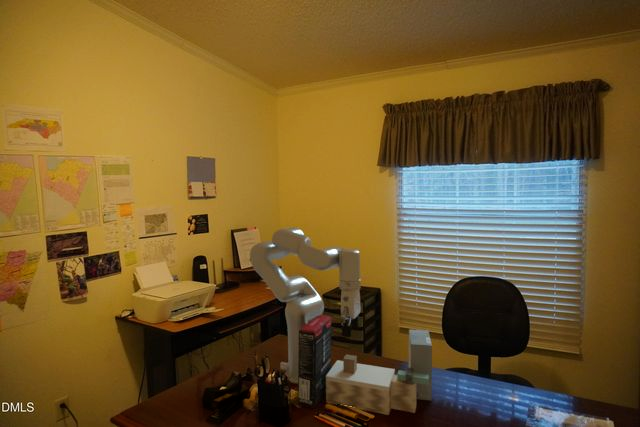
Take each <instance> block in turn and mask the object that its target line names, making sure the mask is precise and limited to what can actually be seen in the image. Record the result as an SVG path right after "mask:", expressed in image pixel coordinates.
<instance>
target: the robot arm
mask: <svg viewBox="0 0 640 427" xmlns="http://www.w3.org/2000/svg"><path fill="white" fill-rule="evenodd" d="M290 254H291V255H293V256H297V257H298V259H299V260H300V262H301V263H302V264H303V265H304V266H306V267H309V268H311V269H314V270H317V271H323V272H324V271H328V270H332V269H336V268H338V271H339V272H338V273H339V276H338V277H339V278H338V279H339V280H338V285H339V288H338V289H340V290H341V292H340V293H341V295H340V314H341V336H342V337H345V338H351V337H352V328H359V314H360V313H361V311H362V310H361V308H362V307H361V293H360V290H361V252H360V251H359V250H357V249H353V248H348V249H347V248H344V247H341V246H340V247H339V246H333V247H328V248H327V247H326V248H323V249H319V248H316V247H312V240H311V239H310V237H308V236H307V235H306V236H305V234H304V231H303V230H301V229H300V228H298V227H287V228H285V227H284V228H280V229H277V230H276V231H274V233H273V234H272V236H271V240H267V241H261V242H258V243H255V244H254V245H253V246H252V247H251V249H250V251H249V259H250V264H251V267H252V268H253V270H254V271H255V272H256V273H257V274H258V275H259V276H260V277H261V278H262V280H263V281H264V282H265V284H266V286H268V288H269V289H270V290H271V292H272V293H273V295H274V296H275V297H276V299H277V300H278V301H280V302H281V303H286V302H288V303H287V305H286V306H285V309H284V313H285V314H284V315H285V320H286V325H287V326H286V327H287V347H288V348H287V351H288V354H287V356H288V359H287V360H288V362H286V361H285V362H283V361H281V362H280V365H279V367H280V370H282V371H285V372H284V376H285V375H286V376H287V377H288V379H289V381H290V382H289V381H288V382H289V383H292V384H296V385H298V357H299V329H301V328H302V327H303V326H305V325H306V324H307V323H308V322H309V321H311V320H312V319H313V318H315V317H316V316H319V315H322V314H323V312H324V310H325V304H324V300H323V298H322V297H321V295H320V294H319V293H318V292H317V290H316V289H315V288H314V287H313V285H312V284H311V283H310V282H309V281H308V279H307V278H305V277H304V276H302V275H298V274H297V275H291V276H287V274H286V273H285V272H284V271H283V269H282V268H281V267H280V266H278V265H277V264H275V263H274V262H272V261H276V260H281V259H284V258H286V257H288V256H289V255H290ZM289 301H290V302H289Z"/></svg>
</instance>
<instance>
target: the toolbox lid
mask: <svg viewBox="0 0 640 427" xmlns="http://www.w3.org/2000/svg"><path fill="white" fill-rule="evenodd" d="M393 374H394V375H396V369H395V368H390V367H382V366H377V365H371V364H366V363H365V364H363V363H358V357H357V355H353V354H352V355H351V354H347V353H346V354H345V355H344V357H343V360H338V359H337V360H336V361H335V363H334V364H333V365H332V366H331V370H330V371H329V372H328V374H327V375H326V380H327V381H333V382H339V383H344V384H350V385H356V386H361V387H367V388H372V389H378V390H384V391H389V389H390V386H391V379H392V376H393Z"/></svg>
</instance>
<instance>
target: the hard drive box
mask: <svg viewBox="0 0 640 427" xmlns="http://www.w3.org/2000/svg"><path fill="white" fill-rule="evenodd" d="M408 368H414V373H420V374H426V375H429V381H428V385H425V384H419V383H416V400H422V401H432V390H433V386H432V384H433V381H432V380H433V376H432V375H433V374H432V373H433V345H432V340H431V336H430V332H429V330H422V329H408Z"/></svg>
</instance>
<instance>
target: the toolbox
mask: <svg viewBox="0 0 640 427" xmlns="http://www.w3.org/2000/svg"><path fill="white" fill-rule="evenodd" d="M406 371H407V372H406V381H401V380H397V374H395V375H394V374H393V376H392V379H391V386H390V389H389V391H384V390H378V389H372V388H367V387H361V386H356V385H350V384H344V383H339V382H333V381H327V380H326V393H325V401H326V402H325V403H328V404H333V405H337V404H342V405H347V406H352V407H355V408H354V409H357V408H358V409H357V410H362V411H366V412H367V411H368V412H371V413H378V414H383V415H385V416H386V415H387V416H389V415H390V412H391V410H392V409H393V410H399V411H403V412H408V413H413V414H415V413H416V410H417V399H416V383H413V382H412V375H413V372H414V368H409V367H407V369H406ZM342 405H341V406H342ZM347 406H346V407H347ZM352 407H351V408H352Z"/></svg>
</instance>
